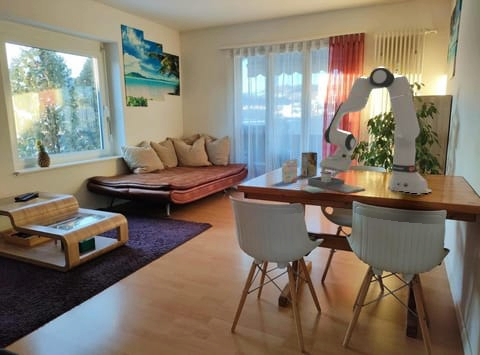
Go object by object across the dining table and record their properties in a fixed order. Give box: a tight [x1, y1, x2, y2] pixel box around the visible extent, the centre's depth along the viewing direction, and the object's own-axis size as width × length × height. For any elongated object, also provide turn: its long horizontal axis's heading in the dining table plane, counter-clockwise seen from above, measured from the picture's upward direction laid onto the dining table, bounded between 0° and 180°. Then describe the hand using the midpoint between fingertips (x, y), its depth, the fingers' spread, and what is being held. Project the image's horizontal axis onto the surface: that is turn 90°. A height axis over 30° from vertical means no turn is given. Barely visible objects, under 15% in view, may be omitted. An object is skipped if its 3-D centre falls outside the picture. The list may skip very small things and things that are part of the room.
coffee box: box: [300, 151, 318, 177], centre depth 236 cm, size 9×6×16 cm
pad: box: [300, 186, 327, 194], centre depth 192 cm, size 10×10×1 cm
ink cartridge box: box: [281, 158, 298, 184], centre depth 214 cm, size 9×5×15 cm, turn 112°
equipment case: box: [307, 176, 366, 194], centre depth 200 cm, size 30×15×4 cm, turn 32°
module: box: [320, 170, 333, 182], centre depth 206 cm, size 4×4×8 cm
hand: (327, 174), depth 206 cm, fingers open, 8 cm apart
